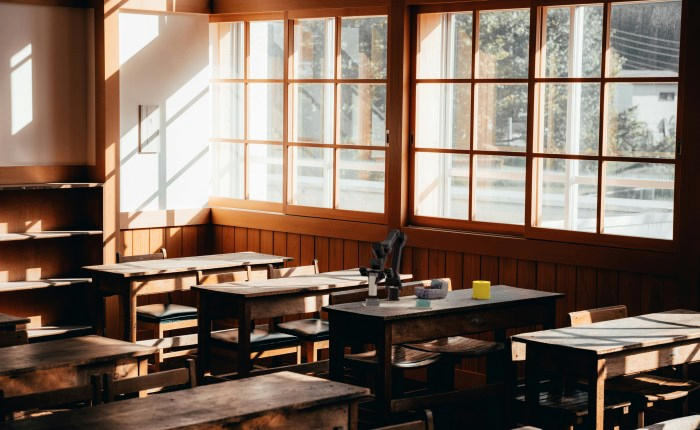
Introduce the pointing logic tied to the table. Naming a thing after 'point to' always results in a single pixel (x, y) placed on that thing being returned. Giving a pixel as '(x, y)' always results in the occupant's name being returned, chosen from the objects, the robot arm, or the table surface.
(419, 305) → the panel
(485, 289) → the yellow cube
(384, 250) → the robot arm
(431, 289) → the grey armchair
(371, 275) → the plug
